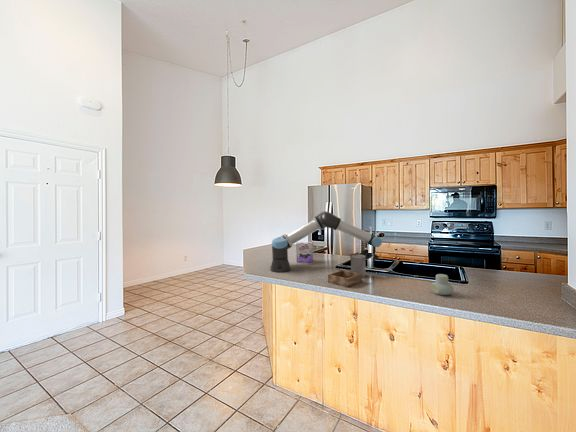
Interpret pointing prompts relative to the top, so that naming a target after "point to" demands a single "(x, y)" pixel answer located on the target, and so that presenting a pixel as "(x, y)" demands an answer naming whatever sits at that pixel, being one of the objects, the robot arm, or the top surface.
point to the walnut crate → (345, 278)
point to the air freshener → (442, 285)
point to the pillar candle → (358, 264)
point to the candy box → (304, 251)
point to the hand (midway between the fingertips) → (361, 259)
